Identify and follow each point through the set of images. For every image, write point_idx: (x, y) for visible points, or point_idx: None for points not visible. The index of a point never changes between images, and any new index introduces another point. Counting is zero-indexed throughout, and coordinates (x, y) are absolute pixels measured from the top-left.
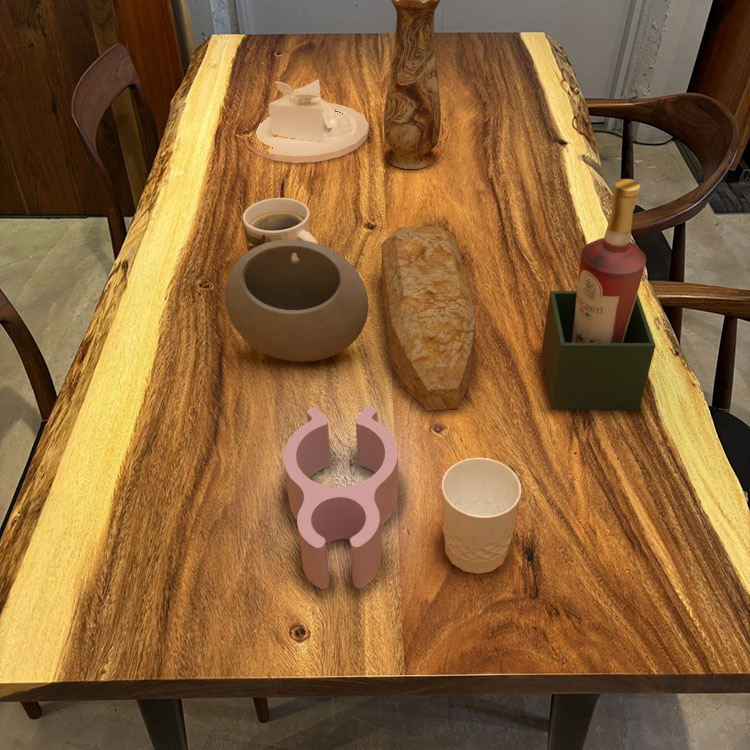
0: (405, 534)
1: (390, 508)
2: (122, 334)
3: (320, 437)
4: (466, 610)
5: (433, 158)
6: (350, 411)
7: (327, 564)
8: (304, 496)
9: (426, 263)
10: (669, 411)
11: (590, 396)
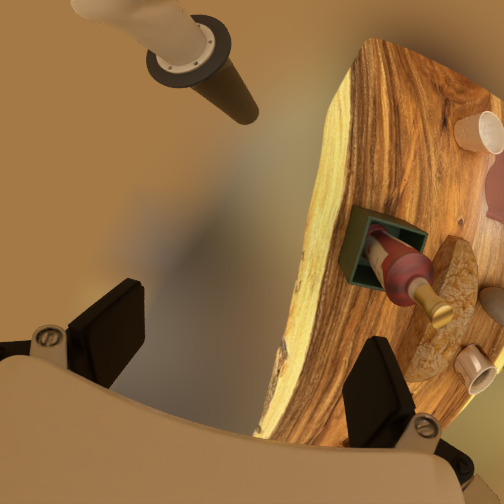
0: (486, 156)
1: (493, 169)
2: None
3: None
4: (471, 106)
5: (345, 441)
6: (487, 247)
7: None
8: None
9: (450, 337)
10: (334, 199)
11: (388, 216)
